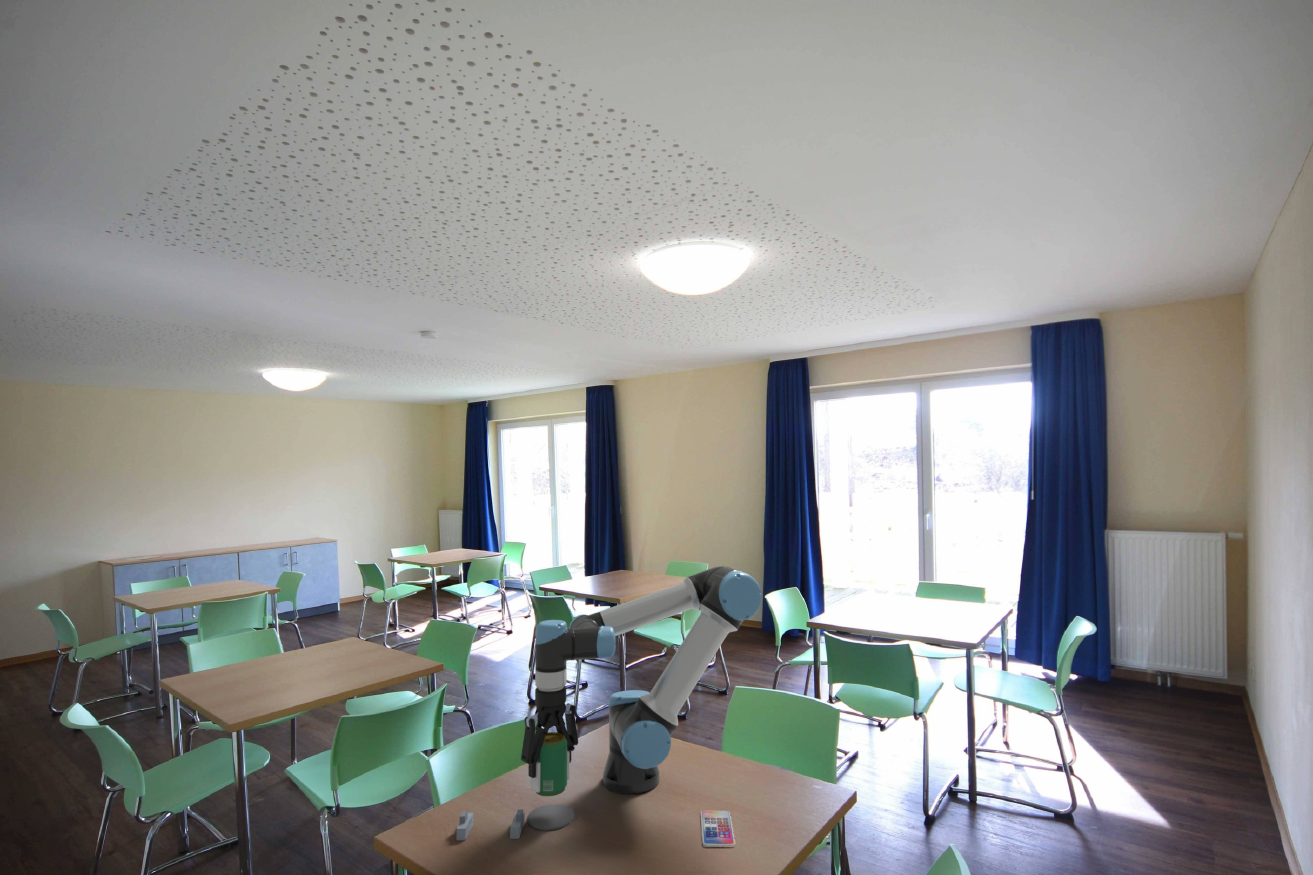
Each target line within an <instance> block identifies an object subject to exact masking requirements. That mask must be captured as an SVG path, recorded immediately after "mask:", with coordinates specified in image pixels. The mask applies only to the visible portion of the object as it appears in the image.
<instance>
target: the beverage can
mask: <svg viewBox="0 0 1313 875" xmlns="http://www.w3.org/2000/svg"><path fill="white" fill-rule="evenodd" d="M537 762H540V792H538V793H537V792H535V794H537V795H538V796H540V797H541V796H542V797H553V796H554V797H555V796H558V795H560V794H562V793H563V792H565V790H566V787H567V786H568V780H567V740H566V739H565V736H564V735H562V734H560V733H558V732H557V731H556V732H555V731H551V732H549V731H548V733H547V734H546V736H545V739H544V742H543V745H542V748H541V752H540V755H539V758H538V761H537Z"/></svg>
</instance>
